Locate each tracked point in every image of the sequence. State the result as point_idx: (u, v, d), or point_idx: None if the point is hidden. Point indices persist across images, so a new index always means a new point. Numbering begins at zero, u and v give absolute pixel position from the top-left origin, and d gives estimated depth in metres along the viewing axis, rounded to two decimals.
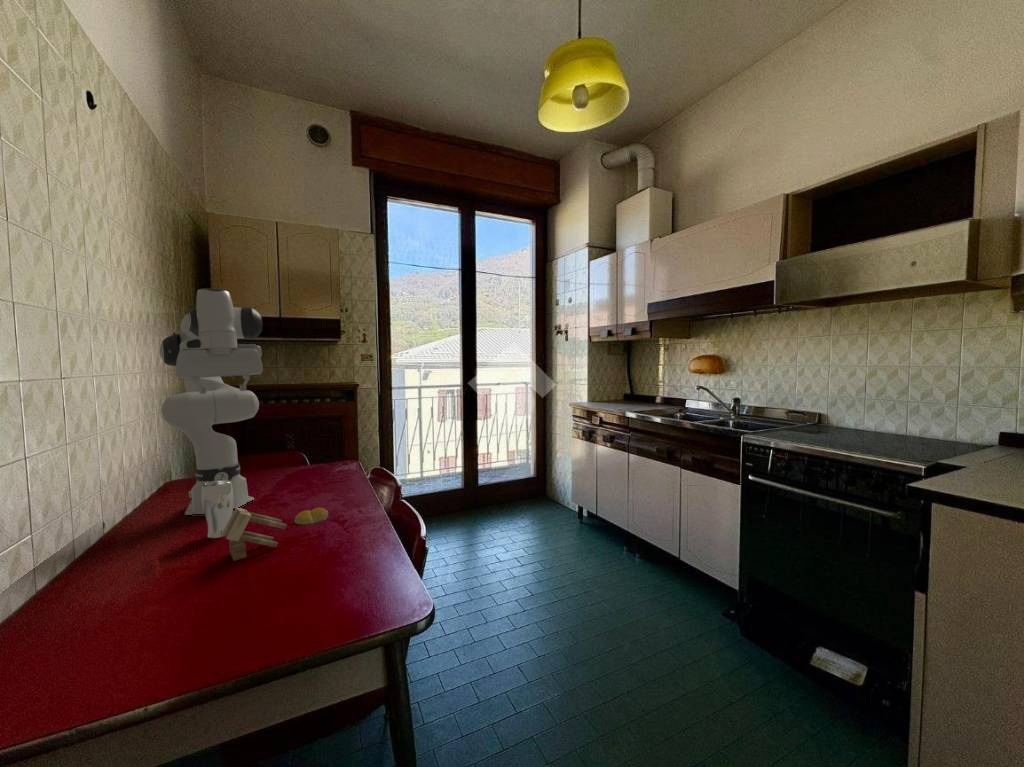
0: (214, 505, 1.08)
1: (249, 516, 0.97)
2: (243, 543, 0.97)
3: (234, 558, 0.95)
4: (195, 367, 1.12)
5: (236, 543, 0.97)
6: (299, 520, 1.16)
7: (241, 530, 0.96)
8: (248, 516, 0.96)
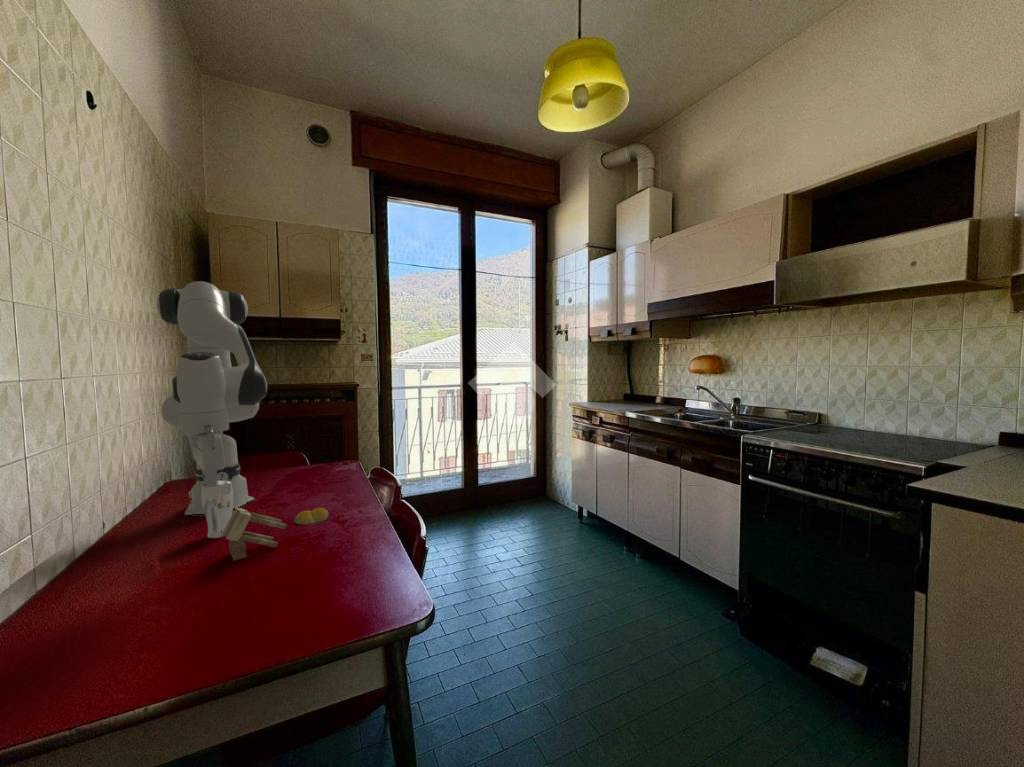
0: (214, 505, 1.08)
1: (249, 516, 0.97)
2: (243, 543, 0.97)
3: (234, 558, 0.95)
4: (194, 451, 0.97)
5: (236, 543, 0.97)
6: (300, 520, 1.16)
7: (241, 530, 0.96)
8: (248, 516, 0.96)
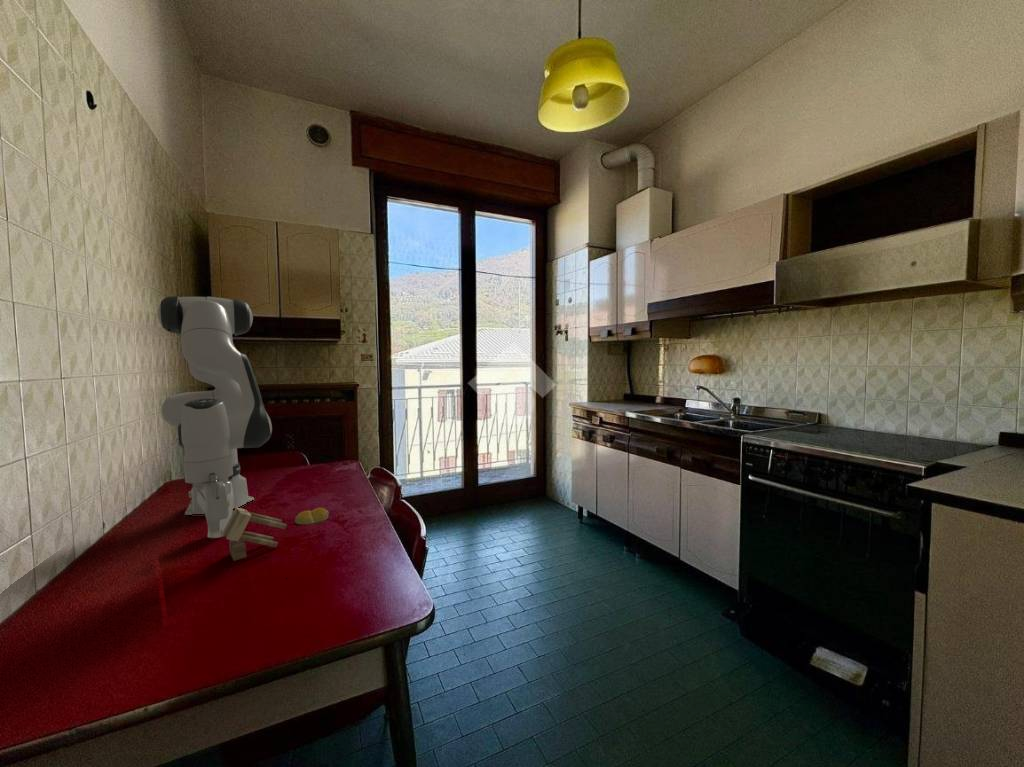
0: None
1: (249, 516, 0.97)
2: (243, 543, 0.97)
3: (234, 558, 0.95)
4: (198, 496, 0.97)
5: (236, 543, 0.97)
6: (300, 520, 1.16)
7: (241, 530, 0.96)
8: (248, 516, 0.96)
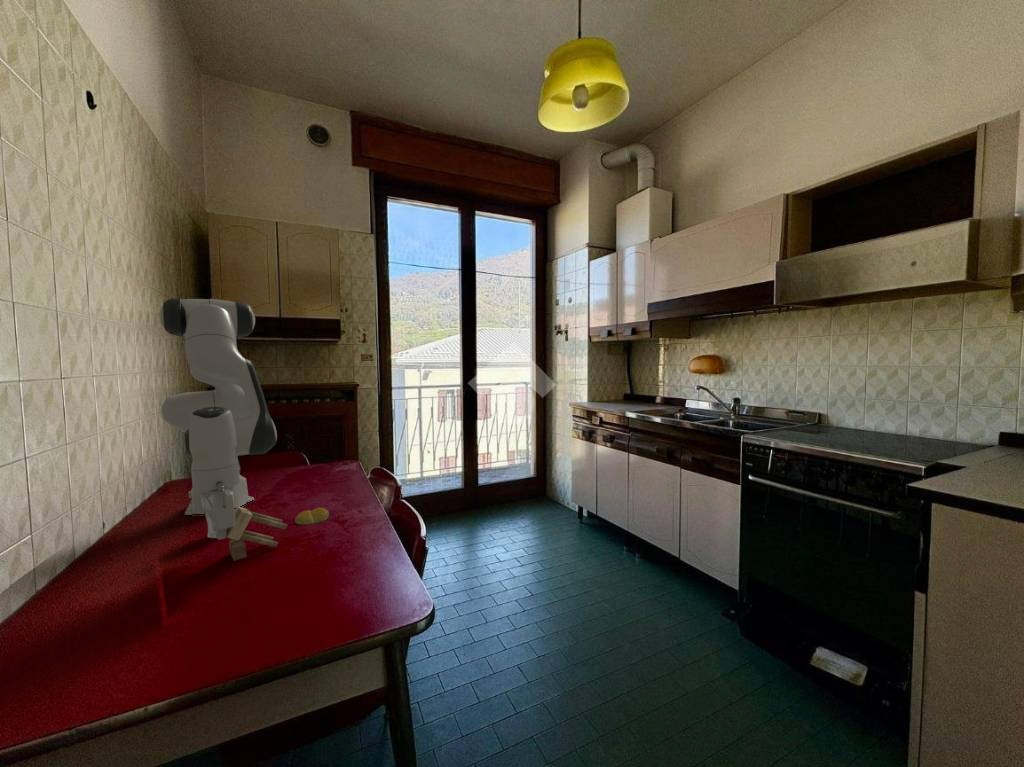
0: None
1: (250, 515, 0.97)
2: (243, 543, 0.97)
3: (234, 558, 0.95)
4: (205, 503, 0.98)
5: (236, 543, 0.97)
6: (300, 521, 1.16)
7: (242, 529, 0.96)
8: (249, 515, 0.97)
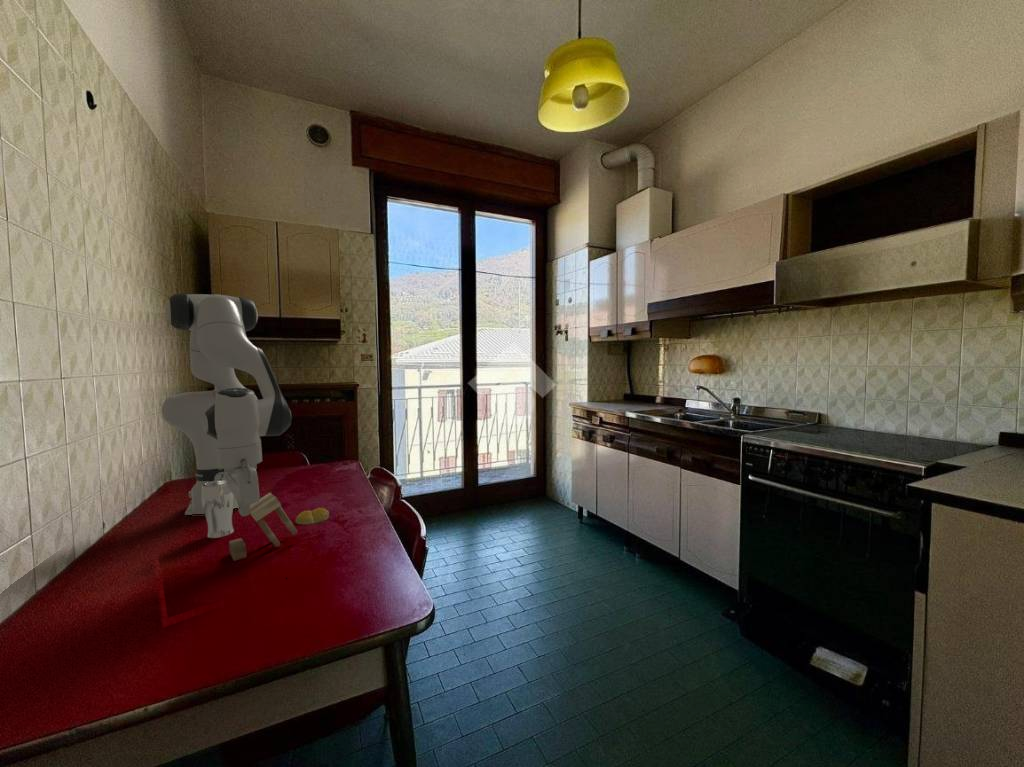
0: (214, 505, 1.08)
1: (279, 504, 1.01)
2: (243, 543, 0.97)
3: (234, 558, 0.95)
4: (229, 481, 1.01)
5: (236, 543, 0.97)
6: (300, 521, 1.16)
7: (265, 513, 0.99)
8: (278, 504, 1.01)
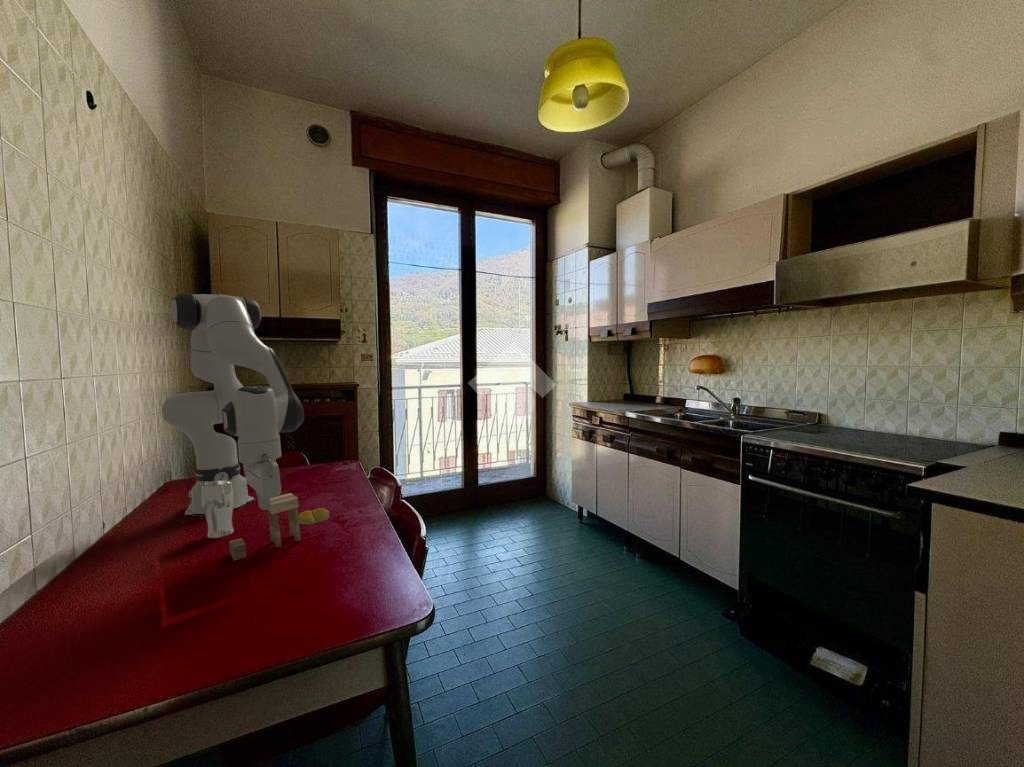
0: (214, 505, 1.08)
1: (297, 506, 1.04)
2: (243, 543, 0.97)
3: (234, 558, 0.95)
4: (248, 476, 1.04)
5: (236, 543, 0.97)
6: (300, 521, 1.16)
7: (282, 509, 1.01)
8: (297, 505, 1.04)
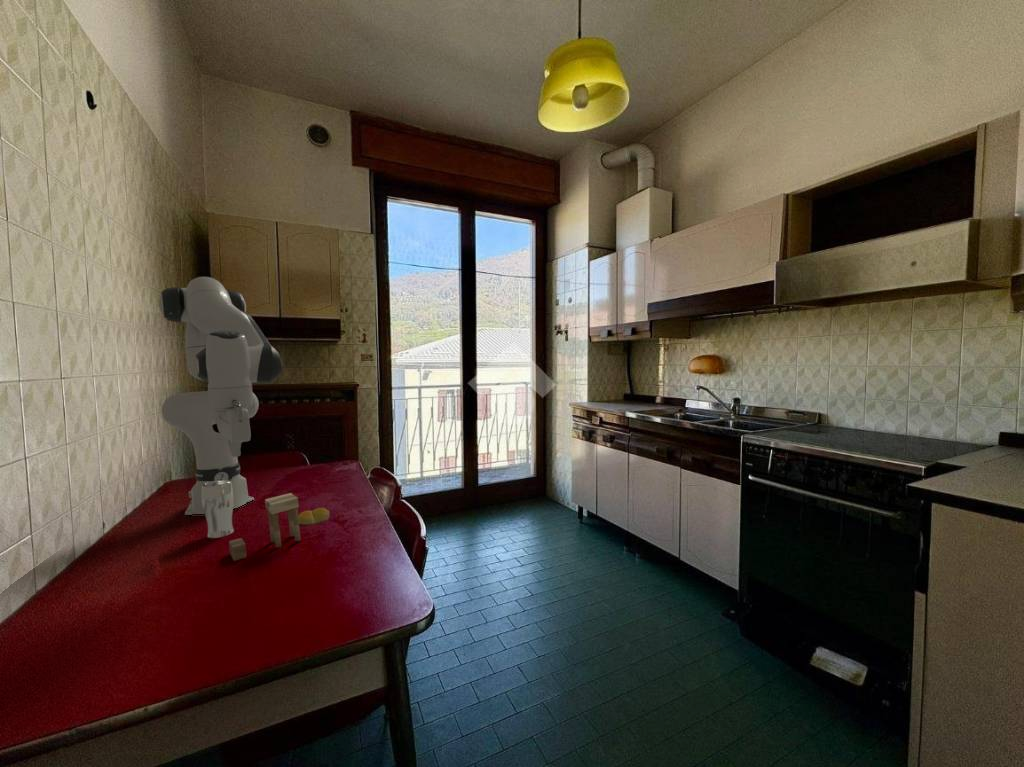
0: (214, 505, 1.08)
1: (297, 506, 1.04)
2: (243, 543, 0.97)
3: (234, 558, 0.95)
4: (220, 424, 1.03)
5: (236, 543, 0.97)
6: (301, 521, 1.16)
7: (282, 509, 1.01)
8: (297, 505, 1.04)
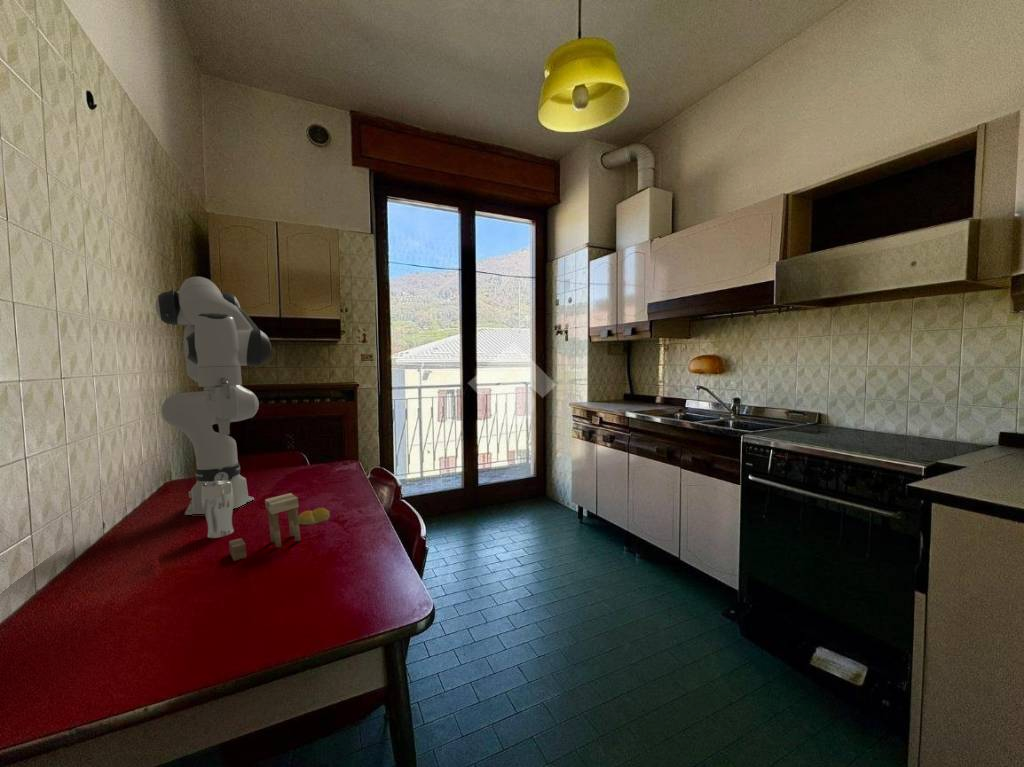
0: (214, 505, 1.08)
1: (297, 506, 1.04)
2: (243, 543, 0.97)
3: (234, 558, 0.95)
4: (210, 405, 1.05)
5: (236, 543, 0.97)
6: (301, 521, 1.16)
7: (282, 509, 1.01)
8: (297, 505, 1.04)
